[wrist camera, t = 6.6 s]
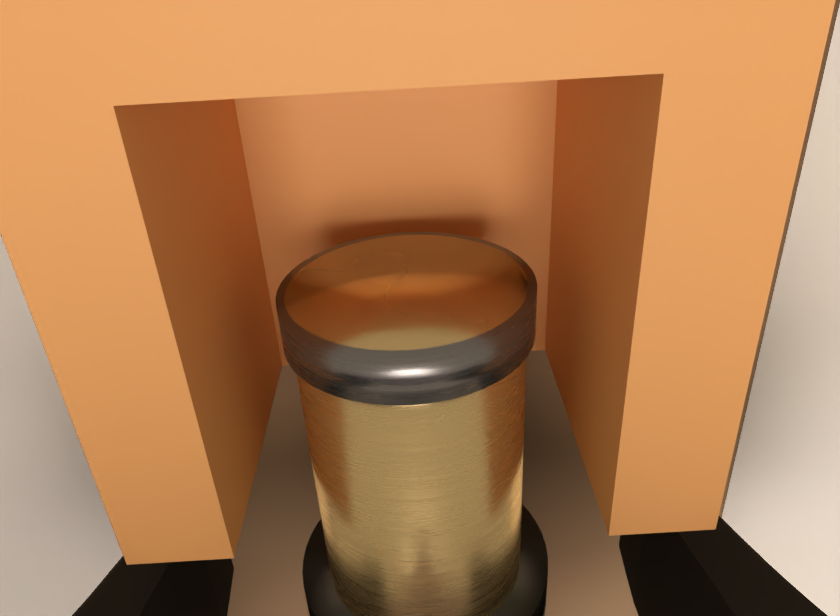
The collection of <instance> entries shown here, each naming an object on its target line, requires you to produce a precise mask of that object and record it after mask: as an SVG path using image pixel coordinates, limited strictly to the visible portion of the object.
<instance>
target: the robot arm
mask: <svg viewBox="0 0 840 616" xmlns="http://www.w3.org/2000/svg"><path fill="white" fill-rule="evenodd" d="M619 548H620V552H621V556H622V560H623V564H624V568H625V572H626V576H627V580H628V584H629V587H630V591H631V595H632V598H633V602H634V605H635V608H636V610H637V613H638V616H827V615H826V614H825V613H824V612H822V611H821V610H820V609H819V608H818V607H817V606H815V605H814V604H813V603H812V602H811V601H810V600H808V599H807V598H806V597H805V596H804V595H803V594H802V593H800V592H799V591H798V590H797V589H796V588H795V587H794V586H792V585H791V584H790V583H789V582H788V581H787V580H786V579H785V578H783V577H782V576H781V575H780V574H779V573H778V572H777V571H776V570H775V569H774V568H773V567H772V566H770V565H769V564H768V563H767V562H766V561H765V560H764V559H763V558H762V557H761V556H760V555H759V554H758V553H757V552H756V551H755V550H754V549H753V548H752V547H751V546H749V545H748V544H747V543H746V542H745V541H744V540H743V539H742V538H741V537H740V536H739V535H738V534H737V533H736V532H735V531H734V530H733V529H732V528H731V527H730V526H729V525H728V524H727V523H726V522H725V521H724V520H723V519H722V518H721V517H720V516H719V517H718V521H717V526H716V529H714V530H697V531H680V532H664V533H647V534H630V535H620V540H619ZM233 572H234V567H233V563H232V559H231V558H230V559H214V560H197V561H180V562H164V563H147V564H131V565H127V564H126V561H125V559H124V556H123V557H122V558H121V559H120V560H119V561H118V563H117V564H116V565H115V566H114V567H113V569H112V570H111V571H110V572H109V573H108V575H107V576H106V577H105V578H104V579H103V581H102V582H101V583H100V584H99V585H98V586H97V588H96V589H95V590H94V591H93V592H92V594H91V595H90V596H89V597H88V598H87V599H86V601H85V602H84V603H83V604H82V605H81V606H80V607H79V608H78V610H77V611H76V612H75V613H74V614H73V615H72V616H227V613H228V607H229V601H230V593H231V586H232V579H233Z"/></svg>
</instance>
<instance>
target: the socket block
mask: <svg viewBox="0 0 840 616" xmlns="http://www.w3.org/2000/svg"><path fill="white" fill-rule="evenodd" d="M835 1H836V0H0V233H1V236H2V238H3V241H4V244H5V246H6V249H7V252H8V254H9V257H10V259H11V262H12V265H13V267H14V270H15V273H16V275H17V278H18V280H19V283H20V286H21V288H22V291H23V294H24V296H25V299H26V301H27V304H28V307H29V309H30V312H31V315H32V317H33V320H34V322H35V325H36V328H37V330H38V333H39V336H40V338H41V341H42V343H43V346H44V349H45V351H46V354H47V357H48V359H49V362H50V364H51V367H52V370H53V372H54V375H55V378H56V380H57V383H58V385H59V388H60V391H61V393H62V396H63V399H64V401H65V404H66V406H67V409H68V412H69V414H70V417H71V420H72V422H73V425H74V427H75V430H76V433H77V435H78V438H79V441H80V443H81V446H82V448H83V451H84V454H85V456H86V459H87V462H88V464H89V467H90V469H91V472H92V475H93V477H94V480H95V483H96V485H97V488H98V490H99V493H100V496H101V498H102V501H103V504H104V506H105V509H106V511H107V514H108V517H109V519H110V522H111V525H112V527H113V530H114V532H115V535H116V538H117V540H118V543H119V546H120V548H121V551H122V553H123V556H124V559H125V561H126V564H127V565H131V564H147V563H164V562H180V561H197V560H214V559H230V558H234V556H235V552H236V548H237V544H238V540H239V536H240V532H241V528H242V524H243V520H244V516H245V512H246V508H247V504H248V500H249V496H250V492H251V488H252V484H253V480H254V476H255V472H256V468H257V464H258V460H259V456H260V452H261V448H262V444H263V440H264V436H265V432H266V428H267V424H268V420H269V416H270V412H271V408H272V404H273V401H274V397H275V393H276V389H277V385H278V381H279V377H280V373H281V369H282V366H285V365H289V363H288V362H287V359H286V357H285V354H284V349H283V343H282V338H281V332H280V327H279V321H278V315H277V310H276V301H275V299H276V293H277V290H278V288H279V286H280V284H281V282H282V281H283V279H284V278H285V277H286V275H287V274H288V273H289V272H290V271H291V270H292V269H294V268H295V267H296V266H298V265H299V264H300V263H301V262H303V261H305V260H306V259H308V258H310V257H311V256H313V255H315V254H317V253H319V252H321V251H323V250H326V249H328V248H331V247H333V246H336V245H339V244H342V243H345V242H349V241H353V240H357V239H360V238H365V237H370V236H375V235H383V234H390V233H401V232H440V233H451V234H458V235H464V236H470V237H475V238H478V239H482V240H486V241H489V242H491V243H494V244H497V245H499V246H502V247H504V248H506V249H508V250H510V251H511V252H513V253H515V254H516V255H518V256H519V257H520V258H522V259H523V260H524V261H525V262H526V263H527V264H528V265H529V266H530V268H531V269H532V271H533V273H534V274H535V276H536V280H537V308H536V334H535V341H534V344H533V348H532V349H531V351H537V350H545V351H546V354H547V357H548V360H549V363H550V366H551V369H552V372H553V375H554V378H555V381H556V383H557V386H558V389H559V392H560V395H561V398H562V401H563V404H564V407H565V410H566V413H567V416H568V418H569V421H570V424H571V427H572V430H573V433H574V436H575V439H576V442H577V445H578V448H579V451H580V453H581V456H582V459H583V462H584V465H585V468H586V471H587V474H588V477H589V480H590V483H591V486H592V488H593V491H594V494H595V497H596V500H597V503H598V506H599V509H600V512H601V515H602V518H603V521H604V523H605V526H606V529H607V532H608V535H609V536H614V535H630V534H647V533H664V532H680V531H697V530H714V529H716V526H717V521H718V517H719V513H720V508H721V504H722V499H723V495H724V491H725V486H726V482H727V477H728V473H729V468H730V464H731V460H732V455H733V451H734V446H735V442H736V438H737V433H738V429H739V424H740V420H741V416H742V411H743V407H744V402H745V398H746V393H747V389H748V385H749V380H750V376H751V371H752V367H753V363H754V358H755V354H756V349H757V345H758V341H759V336H760V332H761V327H762V323H763V318H764V314H765V310H766V305H767V301H768V296H769V292H770V288H771V283H772V279H773V274H774V270H775V266H776V261H777V257H778V252H779V248H780V243H781V239H782V235H783V230H784V226H785V221H786V217H787V213H788V208H789V204H790V199H791V195H792V191H793V186H794V182H795V177H796V173H797V168H798V164H799V160H800V155H801V151H802V146H803V142H804V138H805V133H806V129H807V124H808V120H809V116H810V111H811V107H812V102H813V98H814V93H815V89H816V85H817V80H818V76H819V71H820V67H821V63H822V58H823V54H824V49H825V45H826V41H827V36H828V32H829V27H830V23H831V18H832V14H833V10H834V5H835Z"/></svg>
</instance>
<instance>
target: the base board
mask: <svg viewBox="0 0 840 616" xmlns="http://www.w3.org/2000/svg"><path fill="white" fill-rule="evenodd" d="M839 4H840V0H836V1H835V5H834V10H833V14H832V18H831V23H830V27H829V32H828V36H827V41H826V45H825V49H824V54H823V58H822V63H821V67H820V71H819V76H818V80H817V85H816V89H815V93H814V98H813V102H812V107H811V111H810V116H809V120H808V124H807V129H806V133H805V138H804V142H803V146H802V151H801V155H800V160H799V164H798V168H797V173H796V177H795V182H794V186H793V191H792V195H791V199H790V204H789V208H788V213H787V217H786V221H785V226H784V230H783V235H782V239H781V243H780V248H779V252H778V257H777V261H776V266H775V270H774V274H773V279H772V283H771V288H770V292H769V296H768V301H767V305H766V310H765V314H764V318H763V323H762V327H761V332H760V336H759V341H758V345H757V349H756V354H755V358H754V363H753V367H752V371H751V376H750V380H749V385H748V389H747V393H746V398H745V402H744V407H743V411H742V416H741V420H740V424H739V429H738V433H737V438H736V442H735V446H734V451H733V455H732V460H731V464H730V468H729V473H728V477H727V482H726V486H725V491H724V495H723V499H722V504H721V508H720V513H719V516H720V517H722V513H723V509H724V504H725V500H726V496H727V491H728V487H729V482H730V478H731V474H732V469H733V465H734V461H735V456H736V452H737V448H738V443H739V439H740V435H741V430H742V426H743V422H744V417H745V413H746V408H747V404H748V400H749V395H750V391H751V387H752V382H753V378H754V374H755V369H756V365H757V361H758V356H759V352H760V348H761V343H762V339H763V334H764V330H765V326H766V321H767V317H768V313H769V308H770V304H771V300H772V295H773V291H774V287H775V282H776V278H777V274H778V269H779V265H780V260H781V256H782V252H783V247H784V243H785V239H786V234H787V230H788V226H789V221H790V217H791V213H792V208H793V204H794V200H795V195H796V191H797V186H798V182H799V178H800V173H801V169H802V165H803V160H804V156H805V152H806V147H807V143H808V139H809V134H810V130H811V126H812V121H813V117H814V112H815V108H816V104H817V99H818V95H819V91H820V86H821V82H822V78H823V73H824V69H825V65H826V60H827V56H828V52H829V47H830V43H831V39H832V34H833V30H834V25H835V21H836V17H837V12H838V8H839ZM522 504H523V505H524V506H525V507H526V509H527V510H528V511H529V512H530V513H531V515H532V516H533V518H534V519H535V521H536V522H537V524H538V526H539V528H540V530H541V532H542V535H543V538H544V541H545V544H546V549H547V555H548V579H547V596H546V612H545V616H638V613H637V610H636V608H635V605H634V602H633V598H632V595H631V591H630V587H629V584H628V580H627V576H626V572H625V568H624V564H623V560H622V556H621V552H620V548H619V540H620V535H614V536H609V535H608V532H607V529H606V526H605V523H604V521H603V518H602V515H601V512H600V509H599V506H598V503H597V500H596V497H595V494H594V491H593V488H592V486H591V483H590V480H589V477H588V474H587V471H586V468H585V465H584V462H583V459H582V456H581V453H580V451H579V448H578V445H577V442H576V439H575V436H574V433H573V430H572V427H571V424H570V421H569V418H568V416H567V413H566V410H565V407H564V404H563V401H562V398H561V395H560V392H559V389H558V386H557V383H556V381H555V378H554V375H553V372H552V369H551V366H550V363H549V360H548V357H547V354H546V351H545V350H537V351H530V353H529V355H528V356H527V358H526V382H525V415H524V448H523V481H522ZM320 519H321V514H320V509H319V503H318V497H317V491H316V485H315V479H314V473H313V467H312V461H311V455H310V450H309V444H308V438H307V432H306V426H305V420H304V414H303V408H302V402H301V396H300V390H299V385H298V379H297V374H296V373H295V372H294V371H293V369H292V368H291V366H290V365H285V366H282V369H281V373H280V377H279V381H278V385H277V389H276V393H275V397H274V401H273V404H272V408H271V412H270V416H269V420H268V424H267V428H266V432H265V436H264V440H263V444H262V448H261V452H260V456H259V460H258V464H257V468H256V472H255V476H254V480H253V484H252V488H251V492H250V496H249V500H248V504H247V508H246V512H245V516H244V520H243V524H242V528H241V532H240V536H239V540H238V544H237V548H236V552H235V556H234V558H231V559H232V563H233V567H234V572H233V579H232V586H231V593H230V601H229V607H228V613H227V616H309V611H308V606H307V601H306V596H305V591H304V585H303V575H302V571H303V559H304V554H305V550H306V546H307V544H308V541H309V538H310V536H311V534H312V532H313V530H314V528H315V527H316V525H317V523H318V522H319V521H320Z"/></svg>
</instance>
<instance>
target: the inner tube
mask: <svg viewBox="0 0 840 616" xmlns="http://www.w3.org/2000/svg"><path fill="white" fill-rule="evenodd" d="M275 301H276V310H277V315H278V321H279V327H280V332H281V338H282V343H283V349H284V354H285V357H286V359H287V362H288V363H289V365H290V366H291V368H292V369H293V371H294V372H295V373H296V374H297V379H298V385H299V390H300V396H301V402H302V408H303V414H304V420H305V426H306V432H307V438H308V444H309V450H310V455H311V461H312V467H313V473H314V479H315V485H316V491H317V497H318V503H319V509H320V514H321V519H320V521H319V522H318V523H317V525H316V527H315V528H314V530H313V532H312V534H311V536H310V538H309V541H308V544H307V546H306V550H305V554H304V559H303V571H302V575H303V585H304V591H305V596H306V601H307V606H308V611H309V616H545V612H546V596H547V579H548V555H547V549H546V544H545V541H544V538H543V535H542V532H541V530H540V528H539V526H538V524H537V522H536V521H535V519H534V518H533V516H532V515H531V513H530V512H529V511H528V510H527V509H526V507H525V506H524V505H523V504H522V481H523V448H524V415H525V382H526V358H527V356H528V355H529V353H530V351H531V349H532V348H533V344H534V341H535V334H536V308H537V280H536V276H535V274H534V273H533V271H532V269H531V268H530V266H529V265H528V264H527V263H526V262H525V261H524V260H523V259H522V258H520V257H519V256H518V255H516V254H515V253H513V252H511V251H510V250H508V249H506V248H504V247H502V246H499V245H497V244H494V243H491V242H489V241H486V240H482V239H478V238H475V237H470V236H464V235H458V234H451V233H440V232H401V233H390V234H383V235H375V236H370V237H365V238H360V239H357V240H353V241H349V242H345V243H342V244H339V245H336V246H333V247H331V248H328V249H326V250H323V251H321V252H319V253H317V254H315V255H313V256H311V257H310V258H308V259H306V260H305V261H303V262H301V263H300V264H299V265H298V266H296V267H295V268H294V269H292V270H291V271H290V272H289V273H288V274H287V275H286V277H285V278H284V279H283V281H282V282H281V284H280V286H279V288H278V290H277V293H276V299H275Z"/></svg>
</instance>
